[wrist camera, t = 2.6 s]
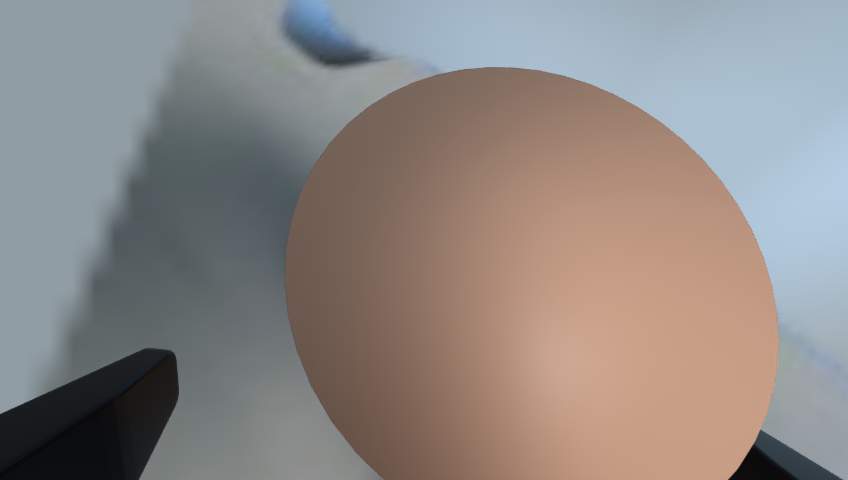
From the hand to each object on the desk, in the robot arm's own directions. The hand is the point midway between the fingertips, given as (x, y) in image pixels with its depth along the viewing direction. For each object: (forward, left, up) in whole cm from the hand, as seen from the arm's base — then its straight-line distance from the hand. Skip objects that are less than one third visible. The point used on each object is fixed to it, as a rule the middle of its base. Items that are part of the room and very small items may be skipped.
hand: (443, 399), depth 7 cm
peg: (+1, 0, -9) cm, 9 cm away
